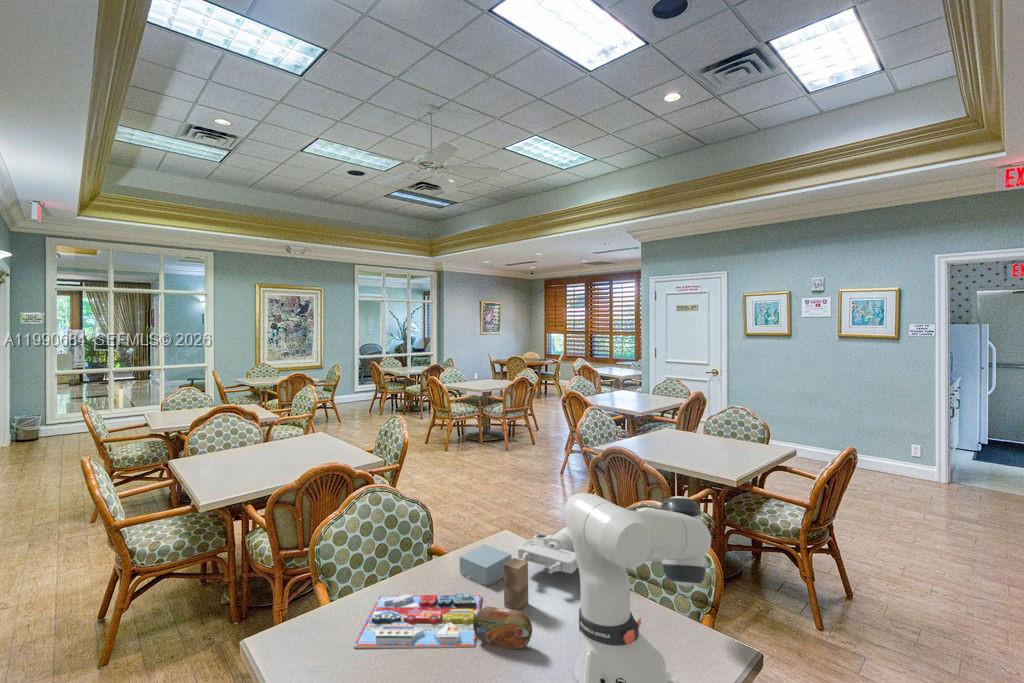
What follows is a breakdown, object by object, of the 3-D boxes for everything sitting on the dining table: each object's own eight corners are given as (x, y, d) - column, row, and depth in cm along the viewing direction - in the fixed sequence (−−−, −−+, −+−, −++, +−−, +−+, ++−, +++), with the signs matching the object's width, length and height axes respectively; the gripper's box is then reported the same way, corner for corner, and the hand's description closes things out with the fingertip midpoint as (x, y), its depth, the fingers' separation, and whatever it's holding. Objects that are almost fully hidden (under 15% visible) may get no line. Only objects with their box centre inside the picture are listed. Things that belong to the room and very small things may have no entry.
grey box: (511, 572, 156) (511, 554, 156) (486, 587, 147) (486, 567, 147) (485, 561, 164) (485, 544, 164) (459, 575, 154) (459, 556, 154)
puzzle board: (353, 651, 117) (352, 640, 117) (379, 600, 140) (379, 591, 140) (475, 649, 117) (475, 639, 117) (481, 599, 140) (481, 590, 140)
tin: (472, 642, 120) (472, 608, 120) (477, 634, 123) (477, 602, 123) (530, 652, 115) (530, 618, 115) (533, 644, 118) (533, 611, 118)
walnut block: (528, 603, 137) (527, 562, 137) (518, 611, 133) (518, 569, 132) (514, 598, 139) (513, 557, 139) (504, 606, 135) (503, 564, 135)
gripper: (586, 567, 150) (565, 586, 139) (531, 551, 162) (508, 568, 150) (585, 547, 150) (565, 565, 139) (531, 533, 162) (508, 548, 150)
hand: (535, 566), depth 145 cm, fingers open, 8 cm apart
